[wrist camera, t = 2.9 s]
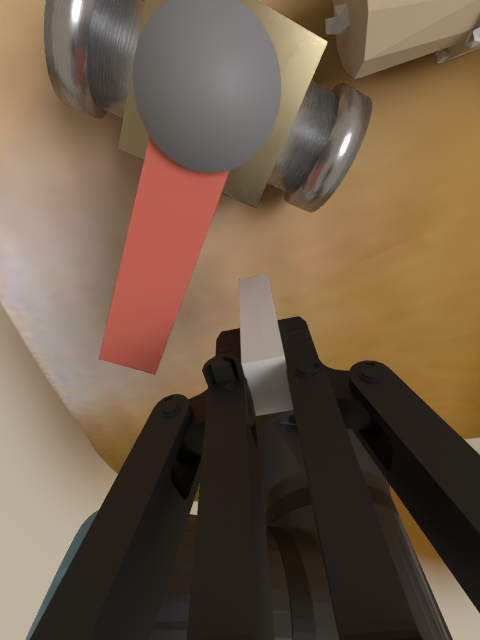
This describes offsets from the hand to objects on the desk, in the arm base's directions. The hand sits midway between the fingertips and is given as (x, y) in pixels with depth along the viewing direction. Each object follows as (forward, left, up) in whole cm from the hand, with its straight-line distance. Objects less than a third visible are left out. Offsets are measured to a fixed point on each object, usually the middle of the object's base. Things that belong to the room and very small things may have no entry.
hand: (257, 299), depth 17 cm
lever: (+2, +5, -1) cm, 6 cm away
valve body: (+7, +5, -8) cm, 12 cm away
